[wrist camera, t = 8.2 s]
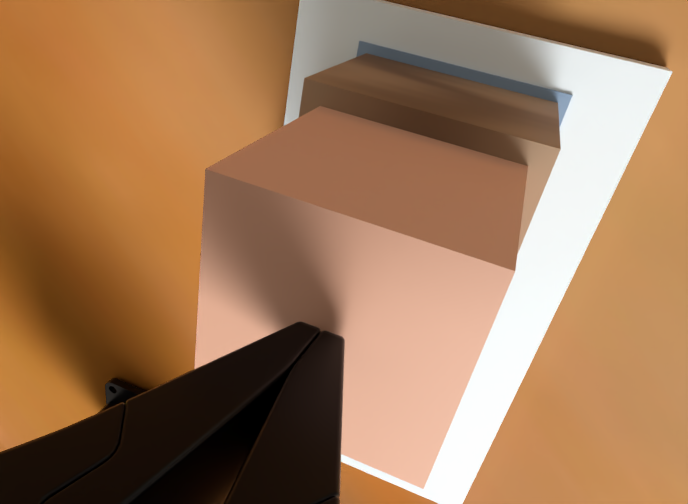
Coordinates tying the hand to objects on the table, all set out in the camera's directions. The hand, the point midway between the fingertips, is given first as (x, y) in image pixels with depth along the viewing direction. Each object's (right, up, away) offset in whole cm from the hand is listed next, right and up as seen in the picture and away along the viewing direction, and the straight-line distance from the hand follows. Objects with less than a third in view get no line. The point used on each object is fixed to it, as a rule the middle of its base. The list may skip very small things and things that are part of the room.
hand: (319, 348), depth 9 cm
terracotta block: (+2, +2, +4) cm, 5 cm away
